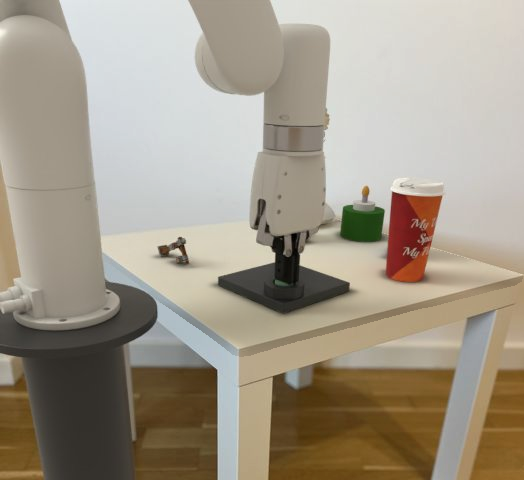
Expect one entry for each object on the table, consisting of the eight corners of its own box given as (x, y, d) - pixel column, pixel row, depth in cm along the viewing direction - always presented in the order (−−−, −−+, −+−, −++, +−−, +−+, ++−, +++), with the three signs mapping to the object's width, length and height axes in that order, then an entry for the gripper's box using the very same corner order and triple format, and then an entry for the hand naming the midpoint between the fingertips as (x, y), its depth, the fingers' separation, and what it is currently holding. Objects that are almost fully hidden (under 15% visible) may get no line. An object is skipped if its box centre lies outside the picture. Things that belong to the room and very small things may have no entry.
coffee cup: (414, 288, 84) (431, 188, 78) (369, 275, 89) (381, 180, 82) (439, 276, 90) (456, 182, 83) (395, 264, 95) (408, 174, 88)
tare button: (283, 296, 75) (284, 285, 74) (270, 290, 77) (271, 280, 76) (296, 292, 76) (297, 281, 76) (283, 286, 78) (284, 276, 77)
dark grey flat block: (283, 313, 73) (284, 292, 72) (217, 285, 82) (217, 266, 81) (349, 291, 82) (351, 272, 81) (283, 267, 91) (284, 250, 90)
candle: (377, 243, 106) (384, 191, 102) (336, 238, 109) (340, 187, 104) (384, 233, 113) (390, 184, 109) (344, 229, 116) (349, 180, 111)
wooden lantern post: (185, 263, 88) (178, 236, 88) (163, 271, 95) (156, 245, 94) (195, 261, 89) (188, 234, 89) (172, 269, 96) (166, 243, 95)
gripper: (311, 134, 75) (303, 263, 83) (227, 140, 65) (227, 285, 74) (355, 140, 70) (341, 276, 78) (270, 147, 61) (265, 301, 69)
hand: (286, 280), depth 76 cm, fingers closed
